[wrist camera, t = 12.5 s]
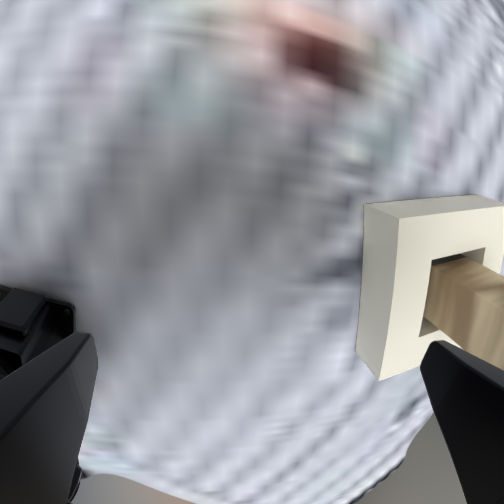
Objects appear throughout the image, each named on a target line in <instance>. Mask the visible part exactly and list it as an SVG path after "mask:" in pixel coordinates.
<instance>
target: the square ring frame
mask: <svg viewBox="0 0 504 504" xmlns="http://www.w3.org/2000/svg"><path fill="white" fill-rule="evenodd" d="M459 253H460V254H462V255H464V256H466V257H468V258H470V259H472V260H474V261H476V262H477V263H479V264H481V265H483V266H485V267H487V268H489V269H491V270H492V271H494V272H496V273H498V274H500V271H501V266H502V260H503V255H504V203H502V202H499V201H495V200H492V199H489V198H486V197H482V196H479V195H463V196H450V197H437V198H425V199H414V200H402V201H392V202H381V203H371V204H364V238H363V264H362V282H361V296H360V309H359V320H358V331H357V340H356V349H355V352H356V353H357V354H358V355H359V357H360V358H361V359H362V360H363V362H364V363H365V364H366V366H367V367H368V368H369V369H370V371H371V372H372V373H373V374H374V376H375V377H376V378H377V379H378V381H380V380H383V379H386V378H389V377H392V376H394V375H397V374H400V373H402V372H405V371H407V370H410V369H413V368H415V367H417V366H420V364H421V361H422V359H423V357H424V355H425V353H426V351H427V349H428V346H429V345H430V343H431V342H432V341H437V340H445V341H447V342H449V343H451V344H453V345H455V346H457V347H459V348H461V347H460V346H459V345H458V344H457V343H455V342H454V341H453V340H452V339H451V338H449V337H448V336H447V335H446V334H445V333H443V332H442V331H441V330H440V329H439V328H437V327H436V326H435V325H434V324H432V323H431V322H430V321H429V320H427V319H426V318H425V317H424V316H423V313H424V308H425V302H426V296H427V290H428V284H429V277H430V269H431V262H432V260H434V259H438V258H442V257H447V256H451V255H455V254H459Z"/></svg>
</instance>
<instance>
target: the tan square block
mask: <svg viewBox="0 0 504 504" xmlns="http://www.w3.org/2000/svg"><path fill="white" fill-rule="evenodd" d="M423 316H424V317H425V318H426V319H427V320H429V321H430V322H431V323H432V324H434V325H435V326H436V327H437V328H439V329H440V330H441V331H442V332H443V333H445V334H446V335H447V336H448V337H449V338H451V339H452V340H453V341H454V342H455V343H457V344H458V345H459V346H460V347H461V348H462V349H464V350H465V351H467V352H469V353H471V354H472V355H474V356H476V357H478V358H480V359H482V360H484V361H486V362H488V363H490V364H492V365H494V366H496V367H498V368H500V369H502V370H504V277H503V276H502V275H500V274H498V273H496V272H494V271H492V270H491V269H489V268H487V267H485V266H483V265H481V264H479V263H477V262H476V261H474V260H472V259H470V258H468V257H466V256H464V255H462V254H460V253H459V254H455V255H451V256H447V257H442V258H438V259H434V260H432V262H431V269H430V277H429V284H428V290H427V296H426V302H425V308H424V313H423Z"/></svg>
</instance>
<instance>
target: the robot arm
mask: <svg viewBox="0 0 504 504" xmlns="http://www.w3.org/2000/svg"><path fill="white" fill-rule="evenodd" d="M0 293H1V295H0V504H72V503H71V501H72V500H73V499H74V497H75V495H76V493H77V491H78V488H79V485H80V479H81V474H82V471H81V467H80V466H79V461H78V454H79V451H80V447H81V443H82V440H83V436H84V432H85V429H86V425H87V421H88V417H89V411H90V406H91V400H92V395H93V389H94V384H95V379H96V374H97V369H98V358H97V353H96V348H95V343H94V338H93V336H92V335H91V334H90V333H85V332H75V308H74V306H73V305H72V304H70V303H66V302H62V301H58V300H54V299H49V298H46V297H45V296H43V295H39V294H35V293H31V292H28V291H24V290H20V289H16V288H14V289H11V288H7V287H3V286H0ZM65 309H68V310H69V311H70V313H67V312H66V311H65ZM420 371H421V374H422V377H423V380H424V383H425V386H426V389H427V392H428V395H429V399H430V402H431V405H432V408H433V411H434V414H435V416H436V419H437V421H438V424H439V426H440V429H441V431H442V434H443V437H444V439H445V441H446V444H447V447H448V450H449V452H450V455H451V458H452V460H453V463H454V466H455V468H456V471H457V474H458V477H459V480H460V483H461V486H462V489H463V492H464V495H465V499H466V502H467V504H504V370H502V369H500V368H498V367H496V366H494V365H492V364H490V363H488V362H486V361H484V360H482V359H480V358H478V357H476V356H474V355H472V354H471V353H469V352H467V351H465V350H463V349H461V348H459V347H457V346H455V345H453V344H451V343H449V342H447V341H445V340H437V341H432V342H431V343H430V345H429V346H428V349H427V351H426V353H425V355H424V357H423V359H422V361H421V364H420Z"/></svg>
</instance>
